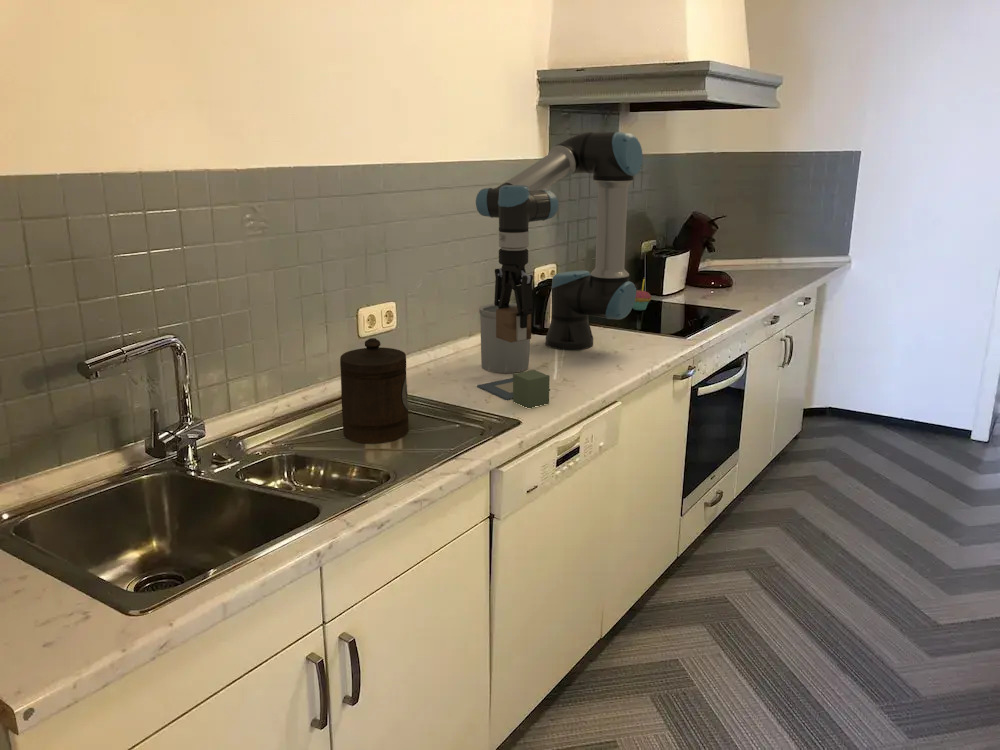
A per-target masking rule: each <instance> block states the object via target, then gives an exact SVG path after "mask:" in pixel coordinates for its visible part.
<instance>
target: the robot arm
mask: <svg viewBox="0 0 1000 750" xmlns="http://www.w3.org/2000/svg"><path fill="white" fill-rule="evenodd" d="M643 160H644V159H643V150H642V145H641V142H640V141H639V139H638V138H637V137H636V136H635V135H634V134H633V133H630V132H622V131H615V132H612V131H611V132H608V131H607V132H606V131H605V132H604V131H603V132H601V131H600V132H598V131H597V132H592V131H586V132H581V133H579V134H576V135H574V136H571V137H569V138H566V139H564V140H563V141H560V143H557V144H556V145H554V146H553V147H551V148H550V150H549V151H548V153H547V155H546V156H544V157H543V158H540V160H538V161H536V162H535V163H533V164H531V165H530V166H528V167H527V168H525V169H524V170H522V171H521V172H519V173H518V174H516V175H514V176H512V177H511V178H510V179H508V180H507V181H505V182H504V183H502V184H500V185H498V186H497V187H495V188H493V187H486V188H481V189H480V190H479V191H478V193H477V194H476V197H475V206H476V210H477V213H479V215H481V216H483V217H488V218H491V219H493V218H494V219H495V218H496V219H497V218H498V246H499V249H498V263H499V265H502V266H501V267H499V268H495V269H494V275H495V283H494V286H495V287H494V301H493V303H494V304H495V306H498V308H499V309H501V308H508V307H510V306H509V303H511V302H510V301H511V296H512V292H514V293H513V294H514V297H515V303H516V304H517V309H518V314H516V340H517V341H520V340H525V339H526V329H527V316H528V314H531V315H532V314H534V305H533V304H534V301H533V279H534V276H533V274H528V273H527V272H526V269H525V268H526V267H525V266H526V265H527V264H528V263H529V250H528V247H529V245H530V244H529V237H530V236H529V235H530V234H529V233H530V232H529V223H531V222H539V221H540V222H541V221H542V222H543V221H546V220H550V219H552V218H554V217H555V216H556V215H557V213H558V210H559V206H560V205H559V199H558V197H557V196H556V194H555V193H554V192H552V191H551V190H546V189H547V188H548V187H550V186H552V185H553V184H554V183H555V182H557V181H559V180H561V179H562V178H563V179H564V178H565V179H566V178H567V179H568V178H569V177H571V176H572V175H575V174H593V176H592V181H593V182H594V184H596V186H597V206H596V208H597V209H596V210H597V211H596V217H597V218H596V240H595V241H596V243H595V244H596V245H595V267H594V269H593V270H592V271H591V272H590V271H588V270H574V271H573V270H572V271H571V270H570V271H564V272H559V273H555V275H554V276H553V277H552V282H551V287H550V288H551V319H550V320H551V321H550V323H549V327H548V329H547V330H548V331H547V333H546V336H545V345H546V346H547V347H549V348H553V349H556V350H565V351H567V350H568V351H574V350H577V351H578V350H585V349H590V348H591V347H593V345H594V335H593V333H592V328H591V325H590V322H589V316H591V317H598V318H604V319H607V320H623V319H625V318H626V317H627V316H628V315H629V314H630V313H631V311H632V309H633V305H634V303H635V299H636V291H637V288H636V285H635V284H634V282H632V281H630V273H629V272H628V271H627V270H626V269H625V262H626V261H625V260H626V258H625V257H626V239H627V237H626V235H627V213H628V212H627V211H628V192H629V187H630V185H631V184H632V183H633V182H634V176H636V175H638V173H640V171H641V170H642V168H641V167H642V165H643ZM522 309H523V311H522Z"/></svg>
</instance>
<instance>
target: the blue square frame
mask: <svg viewBox="0 0 1000 750" xmlns="http://www.w3.org/2000/svg"><path fill="white" fill-rule="evenodd" d="M476 387H477V388H479V389H481V390H483V391H485V390H486V391H485V392H487V391H488V393H489V392H490V394H491V393H492V395H494V396H496V397H498V398H501V400H505V401H506V400H507V401H510V400H513V377H509V378H505V379H500V380H499V379H498V380H495V381H490V382H486V383H481V384H477V385H476ZM550 391H551V388H549V392H550Z"/></svg>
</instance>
